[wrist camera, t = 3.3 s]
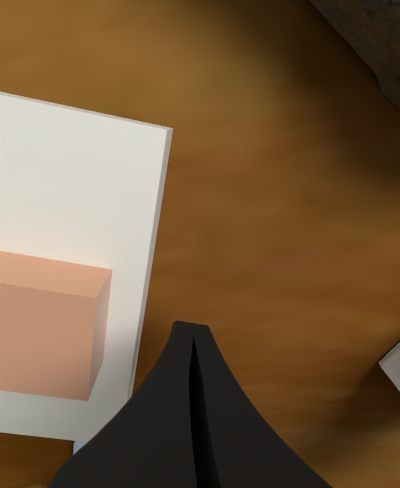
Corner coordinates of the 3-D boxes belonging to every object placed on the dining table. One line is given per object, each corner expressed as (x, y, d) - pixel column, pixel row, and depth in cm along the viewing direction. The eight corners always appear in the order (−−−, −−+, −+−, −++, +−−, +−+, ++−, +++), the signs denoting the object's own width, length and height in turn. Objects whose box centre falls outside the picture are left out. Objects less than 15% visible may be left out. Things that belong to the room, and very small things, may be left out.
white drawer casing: (131, 395, 18) (120, 445, 15) (-10, 377, 17) (-50, 426, 14) (173, 128, 12) (167, 129, 10) (-33, 85, 12) (-105, 72, 9)
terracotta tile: (103, 361, 13) (88, 401, 11) (-6, 346, 13) (-41, 385, 11) (112, 269, 11) (96, 298, 9) (-13, 248, 11) (-56, 274, 9)
